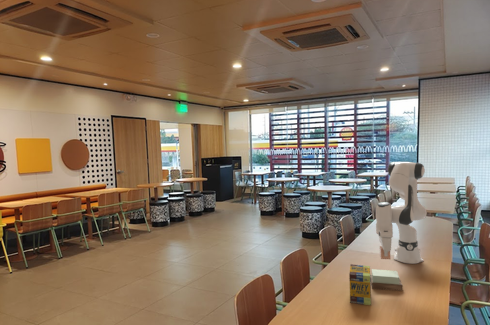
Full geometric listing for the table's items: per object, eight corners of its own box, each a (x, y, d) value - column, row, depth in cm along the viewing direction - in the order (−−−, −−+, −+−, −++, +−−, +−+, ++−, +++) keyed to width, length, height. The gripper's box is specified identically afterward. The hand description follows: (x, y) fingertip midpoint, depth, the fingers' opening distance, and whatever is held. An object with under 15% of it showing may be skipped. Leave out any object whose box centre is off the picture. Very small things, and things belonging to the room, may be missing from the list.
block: (379, 256, 191) (379, 246, 191) (389, 256, 190) (388, 246, 190) (381, 259, 186) (380, 248, 186) (390, 259, 185) (390, 249, 185)
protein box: (349, 303, 170) (349, 274, 170) (351, 290, 185) (350, 263, 184) (371, 305, 167) (370, 276, 166) (370, 292, 181) (369, 265, 180)
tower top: (371, 275, 196) (371, 269, 196) (397, 277, 192) (396, 270, 192) (372, 282, 187) (372, 275, 186) (399, 284, 182) (399, 277, 182)
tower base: (370, 281, 198) (370, 274, 197) (398, 283, 193) (398, 276, 193) (372, 289, 186) (372, 282, 186) (402, 292, 182) (402, 285, 181)
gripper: (376, 226, 198) (377, 248, 199) (380, 235, 179) (381, 259, 179) (387, 226, 197) (388, 248, 197) (393, 235, 177) (393, 260, 178)
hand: (385, 254), depth 188 cm, fingers closed on block, 5 cm apart
